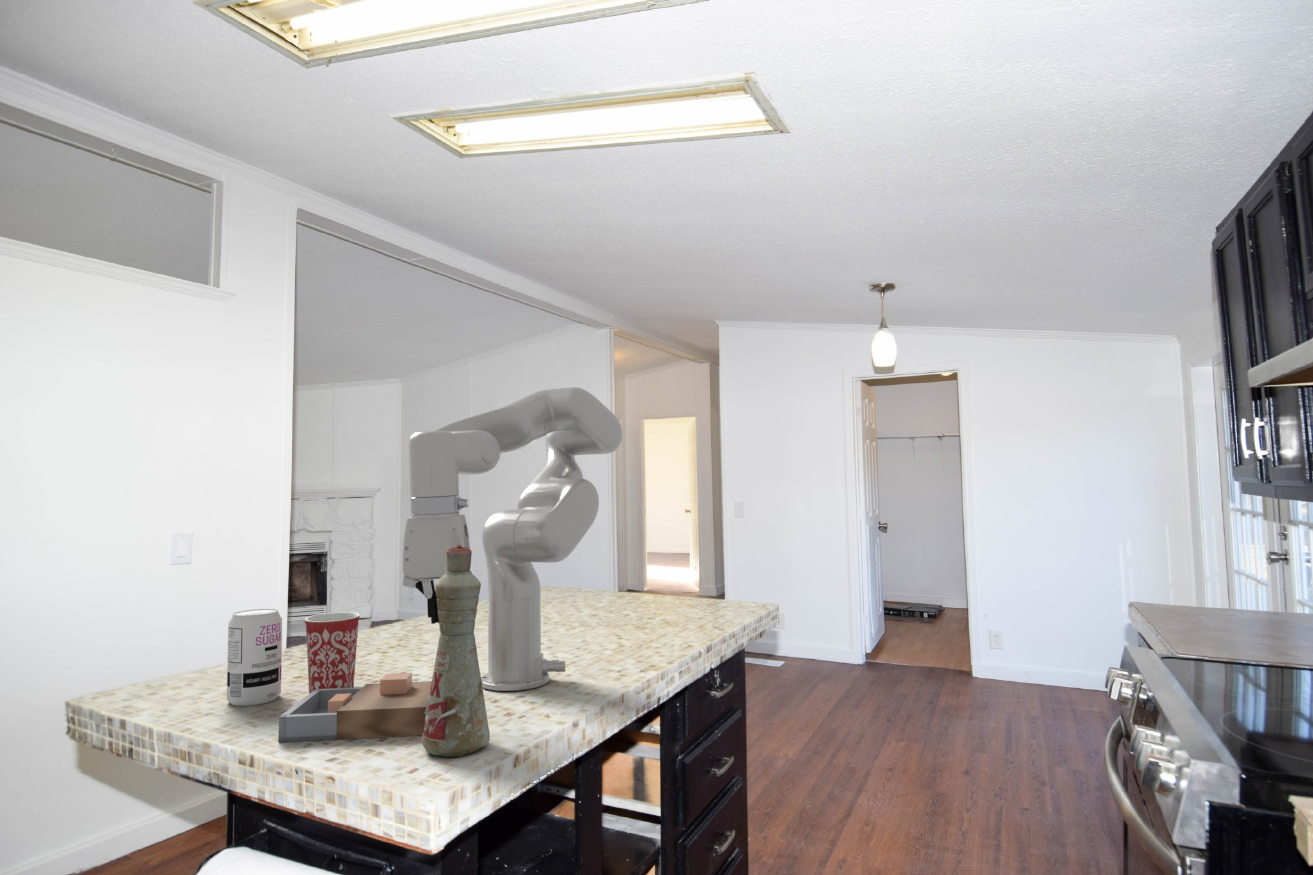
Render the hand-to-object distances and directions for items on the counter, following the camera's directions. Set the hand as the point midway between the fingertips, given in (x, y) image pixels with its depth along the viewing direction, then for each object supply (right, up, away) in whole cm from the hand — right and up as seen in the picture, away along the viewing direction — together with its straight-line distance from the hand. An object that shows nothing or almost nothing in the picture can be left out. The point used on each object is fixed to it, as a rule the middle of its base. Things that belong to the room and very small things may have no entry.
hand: (438, 621), depth 120 cm
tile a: (-12, -12, -7) cm, 18 cm away
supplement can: (-34, -16, +9) cm, 39 cm away
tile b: (-6, -11, -2) cm, 12 cm away
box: (-16, -14, -5) cm, 22 cm away
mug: (-23, -16, +14) cm, 31 cm away
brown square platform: (-5, -14, -4) cm, 16 cm away
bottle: (+7, -14, -17) cm, 23 cm away
